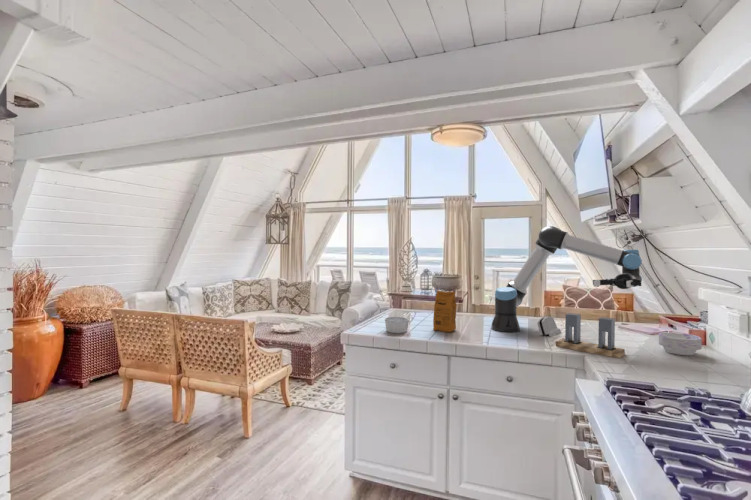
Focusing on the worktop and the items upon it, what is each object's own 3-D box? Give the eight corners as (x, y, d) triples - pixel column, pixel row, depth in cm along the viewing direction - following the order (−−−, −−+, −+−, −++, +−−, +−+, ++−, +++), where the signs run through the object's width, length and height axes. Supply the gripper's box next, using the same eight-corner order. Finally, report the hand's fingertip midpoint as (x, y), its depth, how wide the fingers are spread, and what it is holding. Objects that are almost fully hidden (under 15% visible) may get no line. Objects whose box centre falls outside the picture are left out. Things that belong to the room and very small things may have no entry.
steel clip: (598, 353, 168) (598, 318, 168) (601, 351, 171) (602, 317, 171) (611, 355, 164) (611, 320, 164) (614, 353, 168) (614, 318, 168)
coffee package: (438, 327, 220) (438, 289, 219) (458, 330, 212) (458, 291, 212) (430, 330, 212) (430, 290, 211) (450, 333, 204) (451, 292, 204)
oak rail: (556, 346, 179) (556, 341, 179) (562, 343, 185) (562, 338, 185) (619, 358, 161) (619, 352, 161) (624, 354, 166) (624, 348, 166)
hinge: (550, 336, 198) (543, 318, 200) (541, 338, 201) (535, 319, 203) (561, 331, 210) (554, 314, 212) (552, 333, 213) (546, 316, 215)
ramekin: (408, 329, 214) (409, 316, 214) (408, 334, 201) (408, 321, 201) (385, 328, 216) (385, 316, 215) (383, 333, 202) (383, 320, 202)
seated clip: (565, 346, 178) (565, 314, 178) (569, 345, 182) (569, 312, 181) (576, 349, 174) (577, 315, 174) (580, 347, 178) (580, 314, 178)
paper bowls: (649, 348, 177) (650, 331, 177) (680, 348, 178) (680, 331, 178) (677, 358, 162) (677, 339, 162) (711, 357, 163) (711, 339, 163)
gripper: (655, 289, 179) (643, 292, 165) (598, 288, 198) (582, 291, 184) (654, 273, 180) (641, 275, 166) (597, 273, 198) (581, 275, 184)
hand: (610, 283), depth 175 cm, fingers open, 13 cm apart
